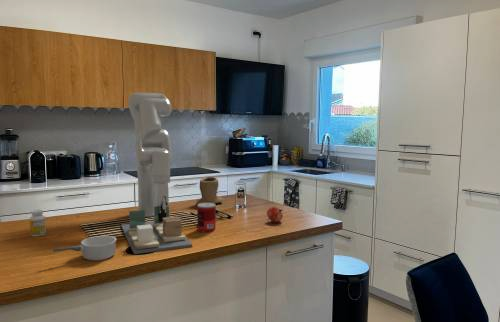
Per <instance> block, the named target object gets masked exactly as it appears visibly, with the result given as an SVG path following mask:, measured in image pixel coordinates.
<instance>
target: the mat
mask: <svg viewBox="0 0 500 322" xmlns="http://www.w3.org/2000/svg"><path fill="white" fill-rule="evenodd" d="M153 223H154V220H151V221H145V225H149V224H150V225H151V226H152V227H153ZM120 226H121V230H122V231H123V234H124V235H125V238H126V240H127V242H128V244H129V247H130V248H131V251H132V253H133V255H137V254H138V255H140V254H146V253H148V254H149V253H155V252H156V253H157V252H163V251H169V250H178V249H184V248H193V243H192V242H191V240H189V239H188V238H187V237H186V239H185V240H177V241H169V242H164V240H163V239H162V238H161V236H160V235H159V234H158V232H157V231H156V230H155V228H154V227H153V235H154V237H155V238H156V239H157V241H158V242H159V247H152V248H145V249H136V247H135V245H134V243H133V241H132V239H131V236H130V235H129V233H128V229H130V223H121V225H120ZM133 236H134V235H133Z"/></svg>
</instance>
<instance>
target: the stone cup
mask: <svg viewBox="0 0 500 322" xmlns="http://www.w3.org/2000/svg"><path fill="white" fill-rule="evenodd" d="M219 185H220V183H219V180H218V178H217V177H215V176H206V177H202V178H201V179H200V181H199V190H200V191H199V192H200V194H201V198H198V199H196V203H197V204H200V203H214V204H219V203H223V202H224V200H223V198H222V196H221V195H217V194H218V189H219Z"/></svg>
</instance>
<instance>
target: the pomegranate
mask: <svg viewBox="0 0 500 322" xmlns="http://www.w3.org/2000/svg"><path fill="white" fill-rule="evenodd" d="M282 211H284V210H283V209H281V208H278V207H276V206H272V207H270V208H268V209H267V211H266V215H267V218H268V219H267V221H270V222H271V223H274V224H275V223H278V222H280V221H282V220H283V217H284V213H283V212H282Z"/></svg>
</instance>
